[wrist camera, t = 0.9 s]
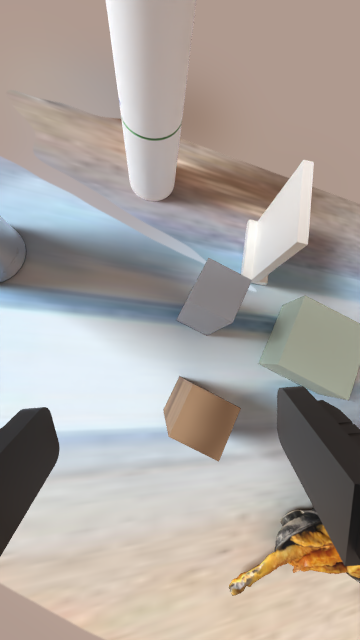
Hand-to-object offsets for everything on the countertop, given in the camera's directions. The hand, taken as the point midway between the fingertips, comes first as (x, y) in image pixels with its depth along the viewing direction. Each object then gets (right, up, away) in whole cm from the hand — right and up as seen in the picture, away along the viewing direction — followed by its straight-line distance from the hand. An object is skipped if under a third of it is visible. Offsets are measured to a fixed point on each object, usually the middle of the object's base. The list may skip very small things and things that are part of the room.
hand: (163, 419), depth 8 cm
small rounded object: (+15, -25, +24) cm, 38 cm away
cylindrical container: (-4, +26, +31) cm, 40 cm away
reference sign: (+13, +14, +30) cm, 36 cm away
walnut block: (+2, -8, +25) cm, 26 cm away
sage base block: (+19, -1, +29) cm, 34 cm away
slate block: (+3, +4, +28) cm, 28 cm away
